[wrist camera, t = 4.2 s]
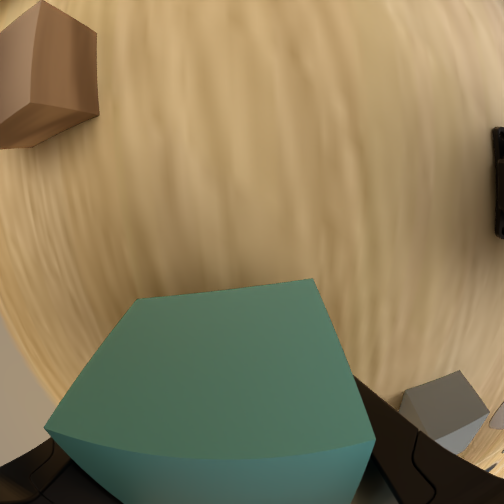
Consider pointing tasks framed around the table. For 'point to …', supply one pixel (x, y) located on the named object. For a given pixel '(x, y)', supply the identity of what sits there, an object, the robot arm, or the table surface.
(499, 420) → the lamp
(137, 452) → the teal block
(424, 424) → the slate block
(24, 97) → the walnut block
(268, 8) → the table surface
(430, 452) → the robot arm
